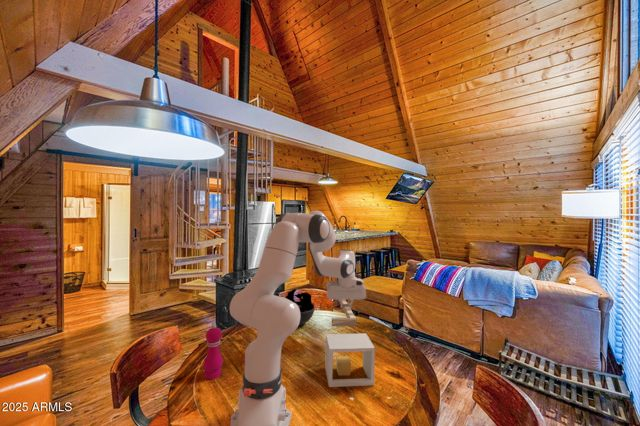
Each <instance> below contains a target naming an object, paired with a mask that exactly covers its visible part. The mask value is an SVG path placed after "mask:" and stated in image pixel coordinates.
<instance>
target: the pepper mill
mask: <svg viewBox="0 0 640 426" xmlns="http://www.w3.org/2000/svg"><path fill="white" fill-rule="evenodd" d="M222 331H223V330H222V329H221V328H219V327H217V324H212V325H211V328H209V329H208V330H207V331H206V333H205V339H206V346H207V353H206V356H205V358H204V360H203V369H204V378H205V379H206V380H214V379H217V378H219V377H220V376H221V375H222V366H223V363H224V361H223V356H222V354H221V352H220V345H221V338H222V335H223V333H222Z"/></svg>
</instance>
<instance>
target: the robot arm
mask: <svg viewBox="0 0 640 426" xmlns="http://www.w3.org/2000/svg"><path fill="white" fill-rule="evenodd" d="M331 223H332V222H330V220H329V219H328V217H327V216H326V215H325V214H324V212H322V211H320V210H312V211H310V212H308V213H304V212H292V213H291V212H287V213H282V214H280V215H279V216H278V217H277V219H276V221H275V224H274V226H273V227H272V230H271V232H270V234H269V237H268V238H267V241H266V244H265V247H264V250H263V253H262V257H261V258H260V262H259V265H258V268H257V270H256V272H255V274H254V276H253V277H252V278H251V280H250V281H249V282H248V284H247V285H246V286H245V287H244V288H243V289H241V290H240V291H237V293H235V295H233V297H232V299H231V301H230V303H229V313H230V316H231V317H232V318H233V319H234V320H236V321H237V322H238V323H240V324H242V325H243V326H247V327H250V328H253V329H255V330H256V332H257V337H256V339H254V340H253V341H251V342H250V343H249V344H248V345H247V347H246V349H245V351H244V352H245V353H244V372H243V375H242V381H241V382H242V387H241V388H240V389H239V390H238V407H237V408H236V409H235V410H234V411H235V412H233V413H232V414H231V415H230V425H229V426H289V425H290V423H291V419H292V416H293V415H292V411H291V410H290V409H288V408H286V405H287V399H286V397H287V396H286V395H287V394H286V393H287V391H286V387H285V386H283V384H282V378H283V377H282V376H283V375H282V369H281V357H282V348H283V345H284V342H285V340H286V339H287V338H288V337H289V336H292V335H293V333H295V331H296V330H297V328H298V327H299V326H300V325H299V323H300V309H299V307H298V305H297V304H296V303H294V302H292V301H290V300H288V299H286V298H285V296H284V297H282V296H278V295H275V292H276V291H277V289H278V288H279V287H280V286H281V285H283V284H285V283H287V282H288V281H289V280H290V279H291V277H292V274H293V270H294V266H295V262H296V258H297V254H298V250H299V243H307V244H308V245H307V246H308V247H307V248H308V250H309V254H310V257H311V259H312V262H313V266H314V267H313V268H314V271H315V273H316V274H317V276H319V277H330V278H335V279H336V278H337V280H330V281H327V282H326V285H325V287H326V289H327V290H326V299H328V300H329V301H330V300H337V299H339V302H340V303H339V304H340V308H341V309H343V308H344V304H342V303H341V301H342V299H346V300H349V301H350V302H347V303H348V305H349V307H350V309H351V308H352V305H353V304H354V300H365V299H366V298H367V292H366V290H367V289H366V286H365V281H364V280H363V279H362V278H359V277H356V272H355V269H356V255H355V254H356V253H355V251H353V250H351V249H340V250H339V253H338V257H333V256H332V257H331V256H325V255H324V254H323V253H324V252H327V251H329V250H330V249H332V247H333V246H335V243H336V239H337V236H336V232H335V229H334V227H333V225H332V224H331Z"/></svg>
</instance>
